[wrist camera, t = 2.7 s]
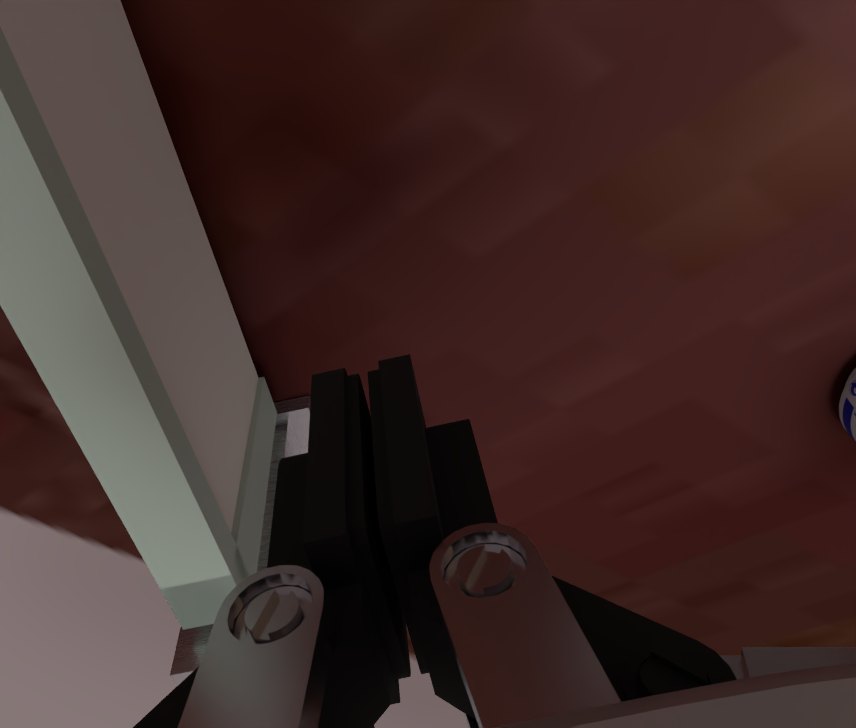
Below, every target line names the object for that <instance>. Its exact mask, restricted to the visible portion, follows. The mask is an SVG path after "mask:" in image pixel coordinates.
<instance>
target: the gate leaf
mask: <svg viewBox="0 0 856 728" xmlns="http://www.w3.org/2000/svg"><path fill="white" fill-rule="evenodd" d="M0 305H1V307H2V309H3V311H4V313H5V314H6V316H7V318H8V320H9V321H10V323H11V325H12V327H13V329H14V330H15V332H16V334H17V336H18V337H19V339H20V341H21V343H22V344H23V346H24V348H25V350H26V352H27V353H28V355H29V357H30V359H31V360H32V362H33V364H34V366H35V368H36V369H37V371H38V373H39V375H40V376H41V378H42V380H43V382H44V384H45V385H46V387H47V389H48V391H49V392H50V394H51V396H52V398H53V399H54V401H55V403H56V405H57V407H58V408H59V410H60V412H61V414H62V415H63V417H64V419H65V421H66V423H67V424H68V426H69V428H70V430H71V431H72V433H73V435H74V437H75V439H76V440H77V442H78V444H79V446H80V447H81V449H82V451H83V453H84V454H85V456H86V458H87V460H88V462H89V463H90V465H91V467H92V469H93V470H94V472H95V474H96V476H97V478H98V479H99V481H100V483H101V485H102V486H103V488H104V490H105V492H106V494H107V495H108V497H109V499H110V501H111V502H112V504H113V506H114V508H115V509H116V511H117V513H118V515H119V517H120V518H121V520H122V522H123V524H124V525H125V527H126V529H127V531H128V533H129V534H130V536H131V538H132V540H133V541H134V543H135V545H136V547H137V549H138V550H139V552H140V554H141V556H142V557H143V559H144V561H145V563H146V564H147V566H148V568H149V570H150V571H151V573H152V575H153V577H154V579H155V580H156V582H157V584H158V586H159V587H160V589H161V591H162V593H163V595H164V596H165V598H166V600H167V602H168V604H169V605H170V607H171V609H172V611H173V612H174V614H175V616H176V617H177V619H178V621H179V623H180V625H181V627H182V628H183V630H185V629H190V628H195V627H200V626H205V625H210V624H214V622H215V619H216V616H217V613H218V611H219V609H220V607H221V605H222V603H223V601H224V599H225V598H226V597H227V595H228V594H229V593H230V592H231V591H232V590H233V589H234V588H235V586H236V585H238V584H239V583H241V582H242V581H243V580H245V579H246V578H247V577H249V576H250V575H252V574H255V573H257V566H258V558H259V551H260V543H261V535H262V527H263V519H264V511H265V503H266V496H267V488H268V480H269V472H270V464H271V456H272V448H273V441H274V433H275V425H276V417H277V411H276V408H275V406H274V403H273V400H272V397H271V394H270V392H269V389H268V386H267V383H266V381H265V378H264V377H260V378H258V375H257V372H256V370H255V367H254V364H253V361H252V359H251V356H250V353H249V350H248V348H247V345H246V342H245V340H244V337H243V334H242V331H241V329H240V326H239V323H238V320H237V318H236V315H235V312H234V309H233V307H232V304H231V301H230V299H229V296H228V293H227V290H226V288H225V285H224V282H223V279H222V277H221V274H220V271H219V268H218V266H217V263H216V260H215V258H214V255H213V252H212V249H211V247H210V244H209V241H208V238H207V236H206V233H205V230H204V227H203V225H202V222H201V219H200V217H199V214H198V211H197V208H196V206H195V203H194V200H193V197H192V195H191V192H190V189H189V187H188V184H187V181H186V178H185V176H184V173H183V170H182V167H181V165H180V162H179V159H178V156H177V154H176V151H175V148H174V146H173V143H172V140H171V137H170V135H169V132H168V129H167V126H166V124H165V121H164V118H163V115H162V113H161V110H160V107H159V105H158V102H157V99H156V96H155V94H154V91H153V88H152V85H151V83H150V80H149V77H148V74H147V72H146V69H145V66H144V64H143V61H142V58H141V55H140V53H139V50H138V47H137V44H136V42H135V39H134V36H133V34H132V31H131V28H130V25H129V23H128V20H127V17H126V14H125V12H124V9H123V6H122V3H121V1H120V0H0Z"/></svg>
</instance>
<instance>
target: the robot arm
mask: <svg viewBox="0 0 856 728" xmlns="http://www.w3.org/2000/svg"><path fill="white" fill-rule="evenodd" d="M368 383H369V398H370V412H371V416H370V412H369V409H368V405H367V401H366V398H365V394H364V390H363V386H362V383H361V379H360V376H359V374H355V375H350V376H348V375H347V372H346V370H345V368H343V369H338V370H333V371H328V372H323V373H319V374H314V375H312V386H311V404H310V421H309V439H308V453H304V454H299V455H295V456H290V457H285V458H281V460H280V461H279V465H278V472H277V481H276V490H275V499H274V508H273V517H272V526H271V535H270V544H269V553H268V562H267V568H266V569H264V570H261V571H259V572H257V573H255V574H252V575H250V576H249V577H247V578H246V579H245V580H243V581H242V582H241V583H239V584H238V585H236V586H235V588H234V589H233V590H232V591H231V592H230V593H229V594H228V595H227V597H226V598H225V599H224V601H223V603H222V605H221V607H220V609H219V611H218V613H217V616H216V619H215V622H214V625H213V628H212V630H211V633H210V636H209V639H208V642H207V645H206V648H205V651H204V653H203V656H202V659H201V662H200V665H199V666H198V667H197V668H196V669H195V670H194V671H193V672H192V673H191V674H190V675H189V676H188V677H187V678H186V679H184V680H183V681H182V682H181V683H180V684H179V685H178V686H177V687H176V688H175V689H174V690H173V691H172V692H171V693H169V695H168V696H166V697H165V698H164V699H163V700H162V701H161V702H160V703H159V704H158V705H157V706H156V707H155V708H154V709H152V710H151V711H150V712H149V713H148V714H147V715H146V716H145V717H144V718H143V719H142V720H141V721H140V722H139V723H137V724H136V725H135V726H134V727H133V728H375V727H374V724H375V723H376V721H377V720H378V719H379V718H380V717H381V715H382V714H383V713H384V712H385V711H386V709H387V708H388V707H389V705H391V704H395V703H400V693H399V682H398V679H401V678H406V677H410V675H411V671H410V660H409V650H408V640H407V630H406V624H407V627H408V631H409V634H410V638H411V641H412V645H413V648H414V651H415V655H416V658H417V662H418V665H419V669H420V672H421V674H425V673H430V677H431V681H432V684H433V688H434V692H435V695H437V696H438V697H440V698H442V699H443V700H445V701H446V702H448V703H450V704H451V705H453V706H454V707H456V708H457V709H459V710H461V711H462V712H464V713H465V717H466V721H467V725H468V728H856V647H742V653H741V656H719V655H718V654H717V653H716V652H715V651H714V650H712V649H710V648H709V647H707V646H705V645H704V644H702V643H700V642H699V641H697V640H695V639H692V638H690V637H688V636H686V635H683V634H681V633H679V632H677V631H674V630H672V629H670V628H668V627H666V626H663V625H661V624H659V623H657V622H654V621H652V620H650V619H648V618H645V617H643V616H641V615H639V614H636V613H634V612H632V611H630V610H627V609H625V608H623V607H621V606H618V605H616V604H614V603H612V602H610V601H607V600H605V599H603V598H601V597H598V596H596V595H594V594H592V593H589V592H587V591H585V590H583V589H580V588H578V587H576V586H574V585H571V584H569V583H567V582H565V581H563V580H560V579H558V578H556V577H554V576H552V575H551V574H550V572H549V570H548V568H547V566H546V565H545V563H544V561H543V559H542V557H541V555H540V554H539V552H538V550H537V548H536V546H535V545H534V544H533V542H532V541H531V540H530V539H529V538H528V536H527V535H526V534H524V533H522V532H521V531H519V530H517V529H516V528H514V527H511V526H507V525H503V524H500V523H497V519H496V515H495V512H494V508H493V504H492V501H491V497H490V493H489V490H488V486H487V482H486V479H485V475H484V471H483V468H482V464H481V460H480V456H479V453H478V449H477V445H476V442H475V438H474V434H473V431H472V427H471V424H470V420H469V419H466V420H462V421H457V422H452V423H447V424H442V425H438V426H433V427H428V428H426V425H425V420H424V416H423V411H422V407H421V402H420V398H419V393H418V389H417V384H416V380H415V375H414V371H413V366H412V362H411V358H410V354H409V355H405V356H400V357H395V358H390V359H385V360H381V361H379V370H374V371H369V372H368Z"/></svg>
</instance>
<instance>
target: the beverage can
mask: <svg viewBox="0 0 856 728" xmlns="http://www.w3.org/2000/svg"><path fill="white" fill-rule="evenodd" d="M839 416H840V420H841V423H842V425H843V427H844V428H845V430H846V431H847V432H848V433H849V435H850V436H851V437H852V438H853V439H854V440H855V441H856V368H855V369H854V370H853V371H852V373H851V374H850V376H849V377H848V379H847V381H846V384H845V387H844V390H843V392H842V394H841V398H840V403H839Z"/></svg>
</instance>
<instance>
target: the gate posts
mask: <svg viewBox="0 0 856 728" xmlns="http://www.w3.org/2000/svg"><path fill="white" fill-rule="evenodd" d="M310 404H311V400H310V397H309V396H304V397H299V398H294V399H289V400H284V401H279V402H275V403H274V406H275V408H276V411H277V417H276V425H275V433H274V441H273V448H272V456H271V464H270V472H269V480H268V488H267V496H266V503H265V511H264V519H263V527H262V535H261V543H260V551H259V558H258V566H257V572H259V571H261V570H264V569H266V568H267V562H268V553H269V544H270V535H271V526H272V517H273V508H274V499H275V490H276V481H277V472H278V465H279V461H280V460H281V458H285V457H290V456H295V455H299V454H304V453H308V439H309V421H310ZM213 625H214V624H210V625H205V626H200V627H195V628H190V629H185V630H183V628H182V627H181V629H180V633H179V637H178V642H177V646H176V651H175V655H174V660H173V664H172V669H171V674H170V676H171V678H172V680H173V681H174V683H175V685H176V686H178V685H179V684H180V683H181V682H182V681H183V680H184V679H186V678H187V677H188V676H189V675H190V674H191V673H192V672H193V671H194V670H195V669H196V668H197V667H198V666H199V665H200V662H201V659H202V656H203V653H204V651H205V648H206V645H207V642H208V639H209V636H210V633H211V630H212V628H213Z"/></svg>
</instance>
